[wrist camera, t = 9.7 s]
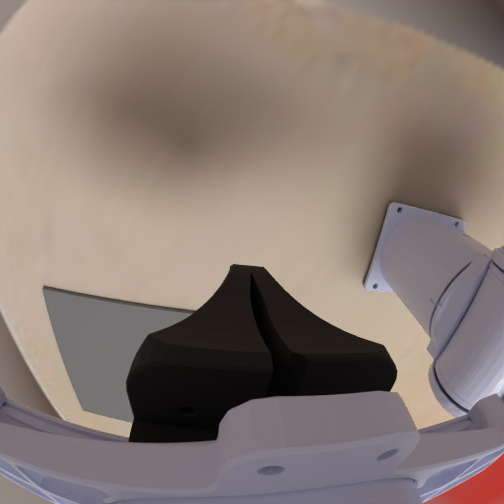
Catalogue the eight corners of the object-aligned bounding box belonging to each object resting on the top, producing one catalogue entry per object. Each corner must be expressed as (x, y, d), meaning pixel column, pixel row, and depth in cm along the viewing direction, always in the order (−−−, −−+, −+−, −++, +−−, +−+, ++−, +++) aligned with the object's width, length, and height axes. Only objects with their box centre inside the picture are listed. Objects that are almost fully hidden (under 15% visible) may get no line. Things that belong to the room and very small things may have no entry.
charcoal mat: (270, 318, 26) (271, 321, 25) (241, 433, 34) (241, 435, 33) (44, 286, 23) (42, 288, 23) (83, 408, 31) (83, 410, 31)
